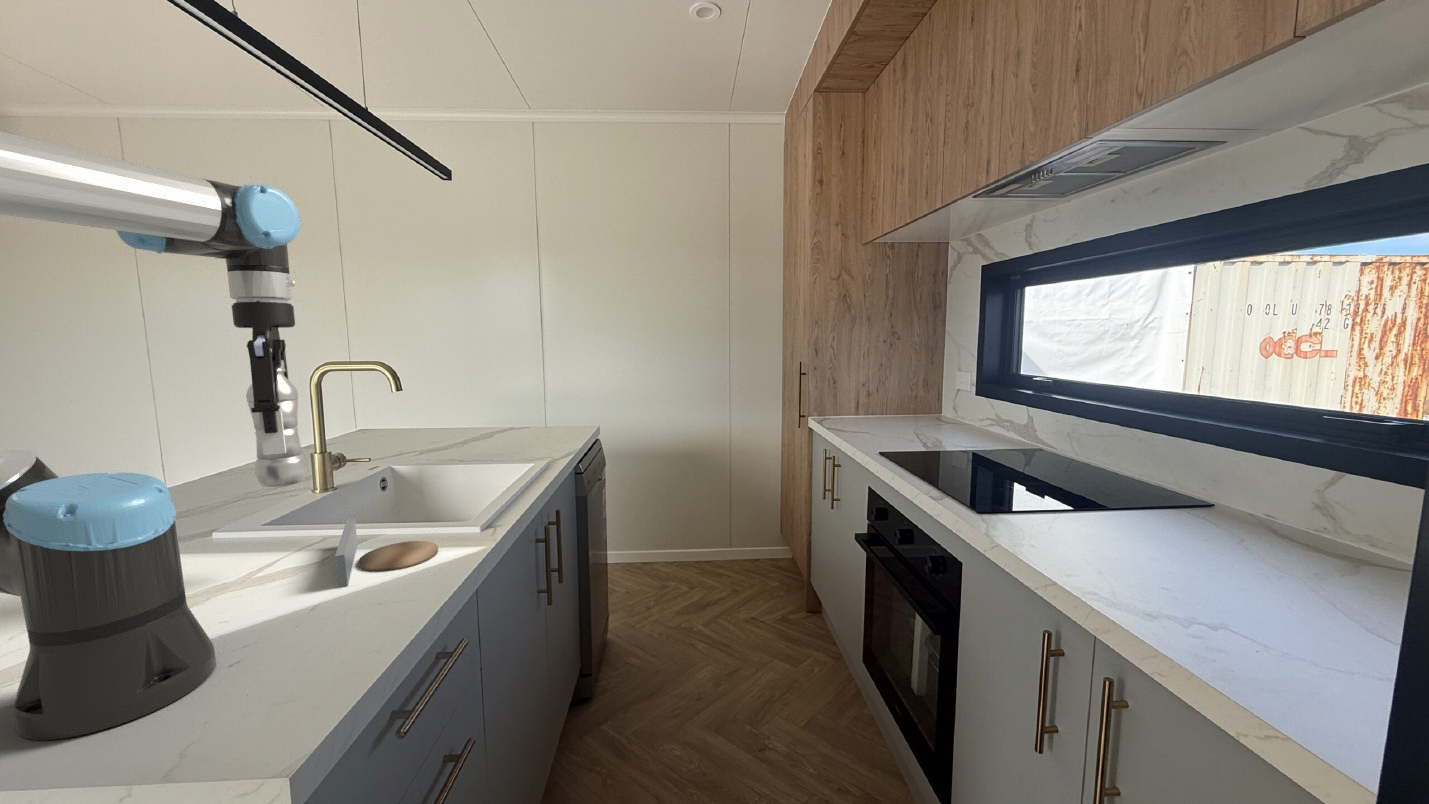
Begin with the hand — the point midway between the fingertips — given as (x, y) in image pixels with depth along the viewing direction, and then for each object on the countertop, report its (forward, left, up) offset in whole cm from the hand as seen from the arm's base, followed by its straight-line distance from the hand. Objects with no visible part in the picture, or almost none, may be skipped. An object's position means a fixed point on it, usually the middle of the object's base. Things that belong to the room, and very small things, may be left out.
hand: (279, 449), depth 91 cm
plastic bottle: (0, 0, -6) cm, 6 cm away
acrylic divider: (+8, -1, -20) cm, 22 cm away
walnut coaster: (+15, -2, -20) cm, 25 cm away
